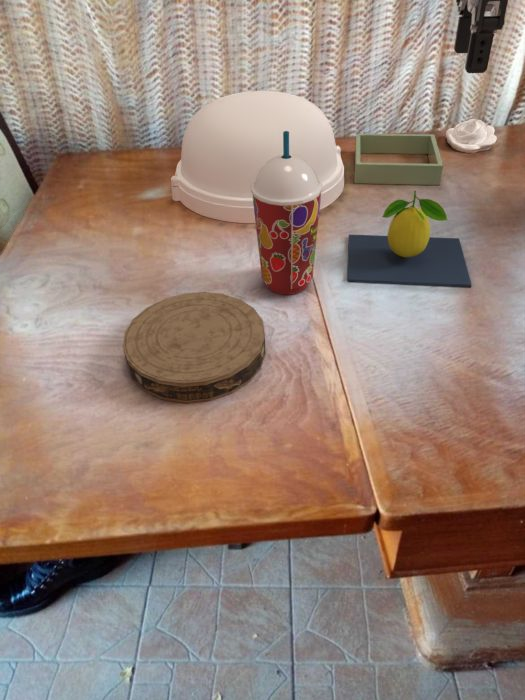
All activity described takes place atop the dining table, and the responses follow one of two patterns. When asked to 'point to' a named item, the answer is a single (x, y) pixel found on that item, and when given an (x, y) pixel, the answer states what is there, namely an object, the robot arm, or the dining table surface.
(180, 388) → the wood slice
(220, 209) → the dome cover
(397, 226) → the lemon
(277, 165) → the smoothie
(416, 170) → the sage green tray
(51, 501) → the dining table surface
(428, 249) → the mat
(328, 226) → the dining table surface
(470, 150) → the rose
